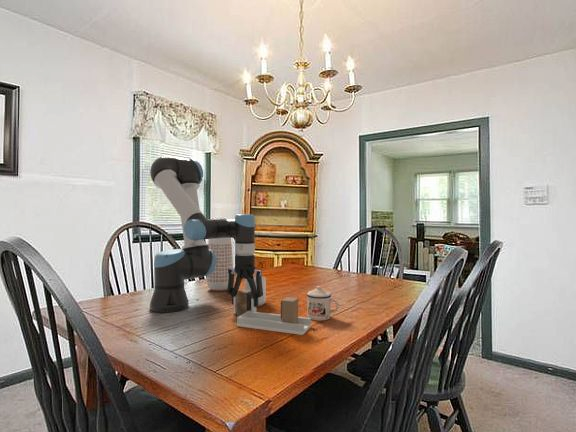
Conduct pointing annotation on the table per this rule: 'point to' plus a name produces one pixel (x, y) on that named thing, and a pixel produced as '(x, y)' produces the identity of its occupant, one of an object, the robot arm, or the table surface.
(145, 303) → the table surface
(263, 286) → the mug
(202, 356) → the table surface
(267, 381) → the table surface
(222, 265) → the white patterned vase
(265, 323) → the rail
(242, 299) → the block
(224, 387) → the table surface
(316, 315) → the teacup with lid
